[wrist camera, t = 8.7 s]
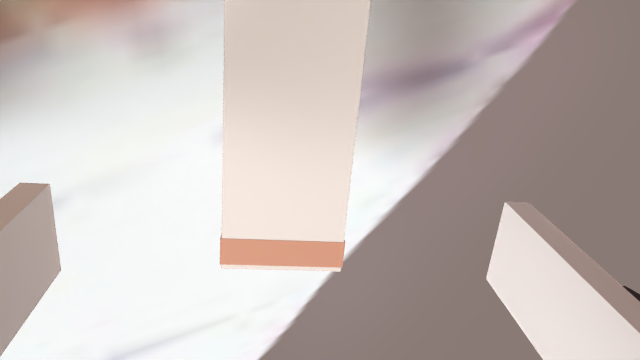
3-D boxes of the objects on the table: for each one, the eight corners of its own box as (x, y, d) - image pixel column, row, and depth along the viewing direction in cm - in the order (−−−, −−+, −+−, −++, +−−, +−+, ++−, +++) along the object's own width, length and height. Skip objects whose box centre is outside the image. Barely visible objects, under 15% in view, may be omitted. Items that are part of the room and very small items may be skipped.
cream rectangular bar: (232, -170, 17) (225, -195, 15) (375, -153, 18) (392, -174, 15) (225, 238, 23) (220, 268, 21) (334, 241, 24) (341, 271, 21)
